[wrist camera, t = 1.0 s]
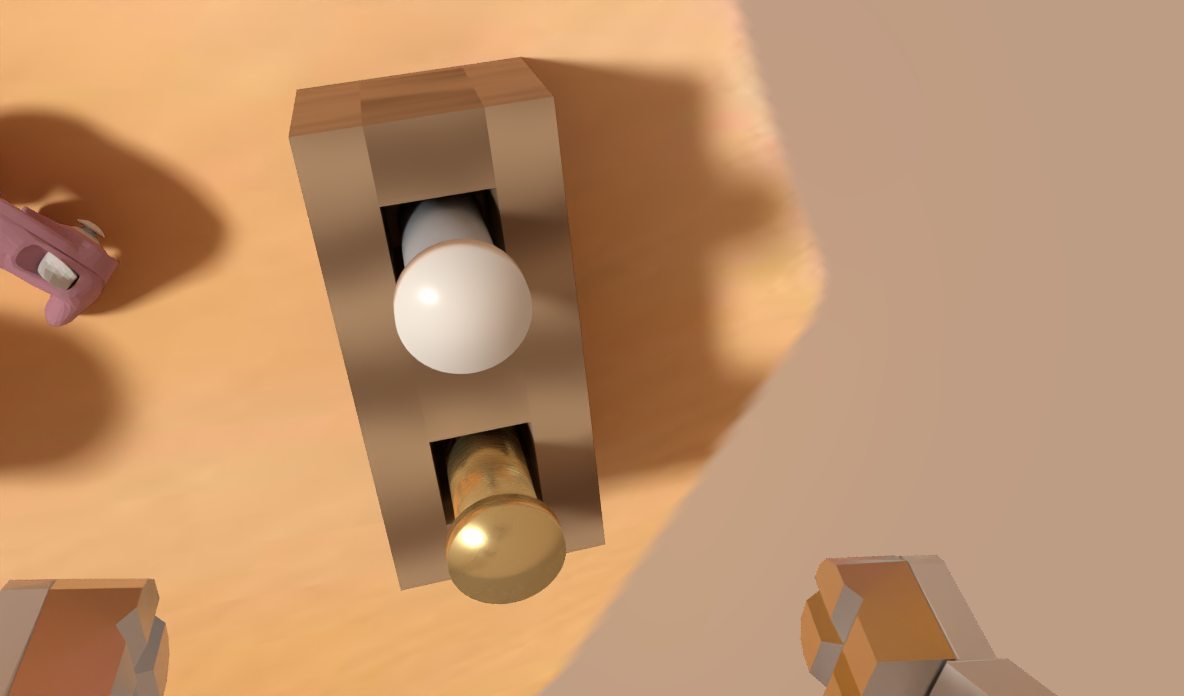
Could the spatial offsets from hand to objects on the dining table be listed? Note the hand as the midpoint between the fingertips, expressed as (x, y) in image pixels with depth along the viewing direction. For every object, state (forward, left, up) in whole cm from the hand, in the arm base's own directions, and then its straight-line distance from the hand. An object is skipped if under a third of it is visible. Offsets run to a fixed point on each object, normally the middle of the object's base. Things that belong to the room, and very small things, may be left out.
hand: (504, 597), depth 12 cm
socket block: (-12, -1, -36) cm, 38 cm away
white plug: (-6, -1, -32) cm, 32 cm away
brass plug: (-17, -1, -32) cm, 36 cm away
